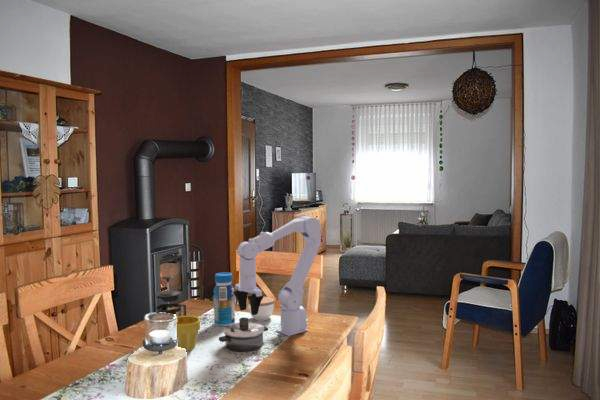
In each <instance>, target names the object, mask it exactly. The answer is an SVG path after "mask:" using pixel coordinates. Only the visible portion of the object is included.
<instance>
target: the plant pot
mask: <svg viewBox="0 0 600 400" xmlns="http://www.w3.org/2000/svg"><path fill="white" fill-rule="evenodd" d="M176 317H177V319H178V322H177V339H178V347H181V348H185V349H186V350H187V351H190V350H191V351H192V350H194V349H195V348H196V343H197V338H198V332H199V330H200V328H201V318H200V317H199V316H195V315H186V316H183V315H181V316H180V317H179V316H176Z"/></svg>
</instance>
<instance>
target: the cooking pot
mask: <svg viewBox="0 0 600 400" xmlns="http://www.w3.org/2000/svg"><path fill="white" fill-rule="evenodd" d="M263 326H264V332H267V331H269V327H267V326H265V325H263ZM264 332H263V333H262V334H260V335H258V336H254V337H248V338H235V337H229V336H227V335H225V334H224V335H223V336H219V337H218V341H220V343H225V349H227V350H229V351H231V352H239V353H247V352H248V353H249V352H253V351H257V350H259V349H261V348H262V347H263V345H264Z"/></svg>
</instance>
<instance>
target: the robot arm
mask: <svg viewBox="0 0 600 400" xmlns="http://www.w3.org/2000/svg"><path fill="white" fill-rule="evenodd" d="M322 229H323V226H322V225H321V223H320V220H318V218H316V217H310V216H307V215H300V216H298V217H296V218H293V219H292V220H290V221H289V222H287V223H285V224H284V225H282V226H280V227H279V228H276V229H275V230H274V231H272V232H269V231H265V232H264V231H261V232H260V233H259V235H257V236H255V237H252V238H251V237H250V238H249V239H248V241H243V242H241V243H240V244H239V245H238V247H237V249H236V252H237V255H238V256H239V283H236V284H235V286H234V295H235V299H236V300H237V303H238V307H239V310H240V312H241V311H246V310H247V305H248V300H249V302H250V306H251V313H252V315H256V314H258V310H259V306H260V303H261V301H262V299H263V297H264V294H263V290H261V289H260V288H259V287H257V269H256V265H257V264H256V258H257V255H258V254H260V253H262V252H263V251H265V250H267V249H270V248H271V247H273V246H274V245H275V242H276V241H277V240H280V239H282V238H284V237H287V236H289V235H291V234H293V233H300V234H301V235H302V237H303V239H304V241H305V245H304V246H303V249H302V251H301V253H300V256H299V259H298V261H297V262H296V265H295V268H294V270H293V272H292V275H291V277H290V279H289V281H287V282H286V283H285V284H284V287H283V288H282V289H281V290H280V291H279V292H278V294H277V297H278V302H279V303H280V304H281V305H280V328H277V329H275V331H276V332H278V333H279V334H282V335H285V336H288V337H289V336H294V335H297V334H300V333H305V332H308V331H309V329H308V327H307V311H306V309H305V307H303V304H302V303H303V297H304V293H305V292H304V284H305V282H306V279H307V277H308V276H309V273H310V270H311V268H312V265H313V263H314V261H315V259H316V256H317V254H318V252H319V249H320V247H321V244H322V235H321V234H322ZM249 294H251V295H249Z"/></svg>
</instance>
